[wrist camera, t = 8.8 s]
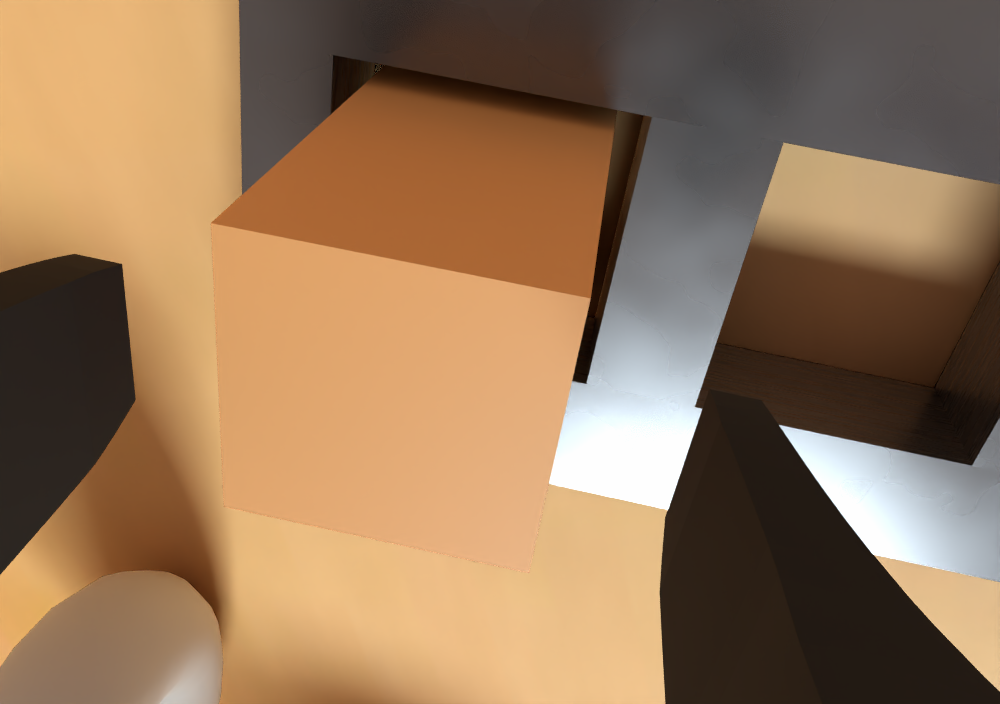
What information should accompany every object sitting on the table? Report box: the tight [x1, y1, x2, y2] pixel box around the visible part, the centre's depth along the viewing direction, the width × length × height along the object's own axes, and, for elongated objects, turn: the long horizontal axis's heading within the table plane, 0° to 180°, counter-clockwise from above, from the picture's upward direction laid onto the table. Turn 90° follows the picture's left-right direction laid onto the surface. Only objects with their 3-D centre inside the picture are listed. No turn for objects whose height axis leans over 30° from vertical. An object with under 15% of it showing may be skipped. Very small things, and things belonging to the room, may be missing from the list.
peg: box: [211, 65, 617, 573], centre depth 13 cm, size 4×4×8 cm
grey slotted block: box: [239, 0, 1000, 582], centre depth 15 cm, size 22×10×2 cm, turn 82°
